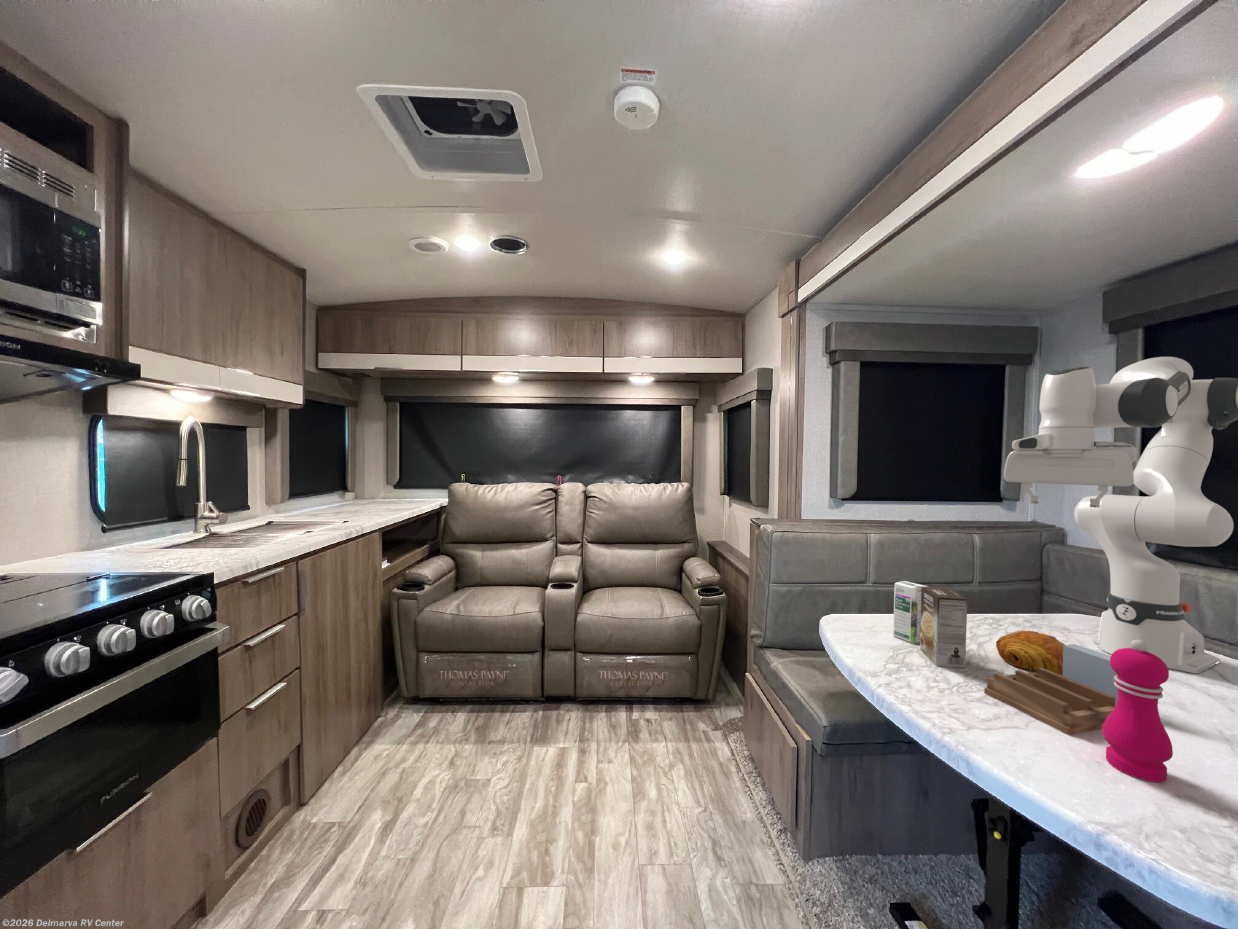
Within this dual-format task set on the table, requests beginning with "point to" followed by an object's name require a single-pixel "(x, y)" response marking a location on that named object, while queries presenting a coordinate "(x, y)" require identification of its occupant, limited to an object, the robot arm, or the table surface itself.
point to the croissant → (1032, 651)
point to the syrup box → (907, 611)
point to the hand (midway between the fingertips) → (1063, 505)
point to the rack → (1053, 699)
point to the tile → (1089, 668)
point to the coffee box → (943, 626)
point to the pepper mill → (1138, 715)
